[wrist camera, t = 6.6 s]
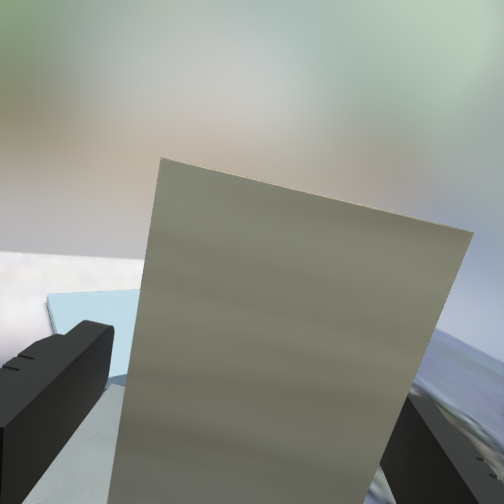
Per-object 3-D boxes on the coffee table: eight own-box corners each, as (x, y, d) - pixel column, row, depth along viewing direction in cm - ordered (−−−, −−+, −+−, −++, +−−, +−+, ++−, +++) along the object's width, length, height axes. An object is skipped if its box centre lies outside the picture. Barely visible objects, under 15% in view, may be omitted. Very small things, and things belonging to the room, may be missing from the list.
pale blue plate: (240, 357, 25) (242, 348, 25) (70, 397, 17) (71, 385, 17) (177, 294, 34) (178, 287, 33) (46, 302, 26) (47, 293, 26)
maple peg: (263, 746, 8) (473, 232, 5) (74, 708, 8) (161, 157, 5) (263, 532, 13) (368, 205, 10) (146, 507, 13) (212, 168, 10)
